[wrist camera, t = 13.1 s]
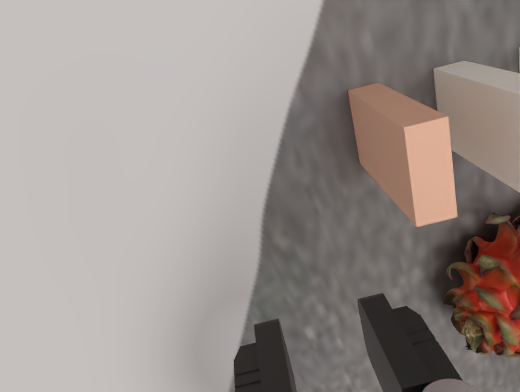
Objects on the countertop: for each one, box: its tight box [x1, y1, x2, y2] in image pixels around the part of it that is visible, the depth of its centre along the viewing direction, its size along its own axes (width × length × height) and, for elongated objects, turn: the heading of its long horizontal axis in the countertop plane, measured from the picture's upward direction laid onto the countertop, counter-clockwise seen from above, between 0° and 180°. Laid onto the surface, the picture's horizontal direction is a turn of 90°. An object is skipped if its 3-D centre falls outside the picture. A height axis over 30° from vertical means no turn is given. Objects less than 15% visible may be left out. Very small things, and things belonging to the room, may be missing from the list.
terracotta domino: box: [348, 83, 457, 227], centre depth 27 cm, size 2×5×10 cm, turn 13°
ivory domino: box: [433, 61, 520, 193], centre depth 27 cm, size 2×5×10 cm, turn 13°
